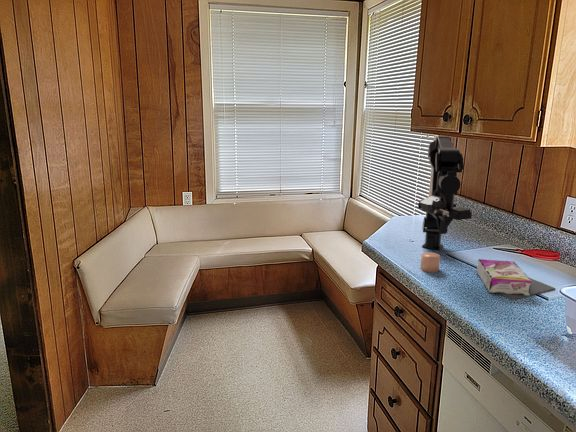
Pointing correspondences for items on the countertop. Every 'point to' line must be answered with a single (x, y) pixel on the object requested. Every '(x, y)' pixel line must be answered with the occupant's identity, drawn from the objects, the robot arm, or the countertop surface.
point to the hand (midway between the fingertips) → (441, 233)
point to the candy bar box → (503, 277)
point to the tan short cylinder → (430, 262)
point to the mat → (531, 290)
